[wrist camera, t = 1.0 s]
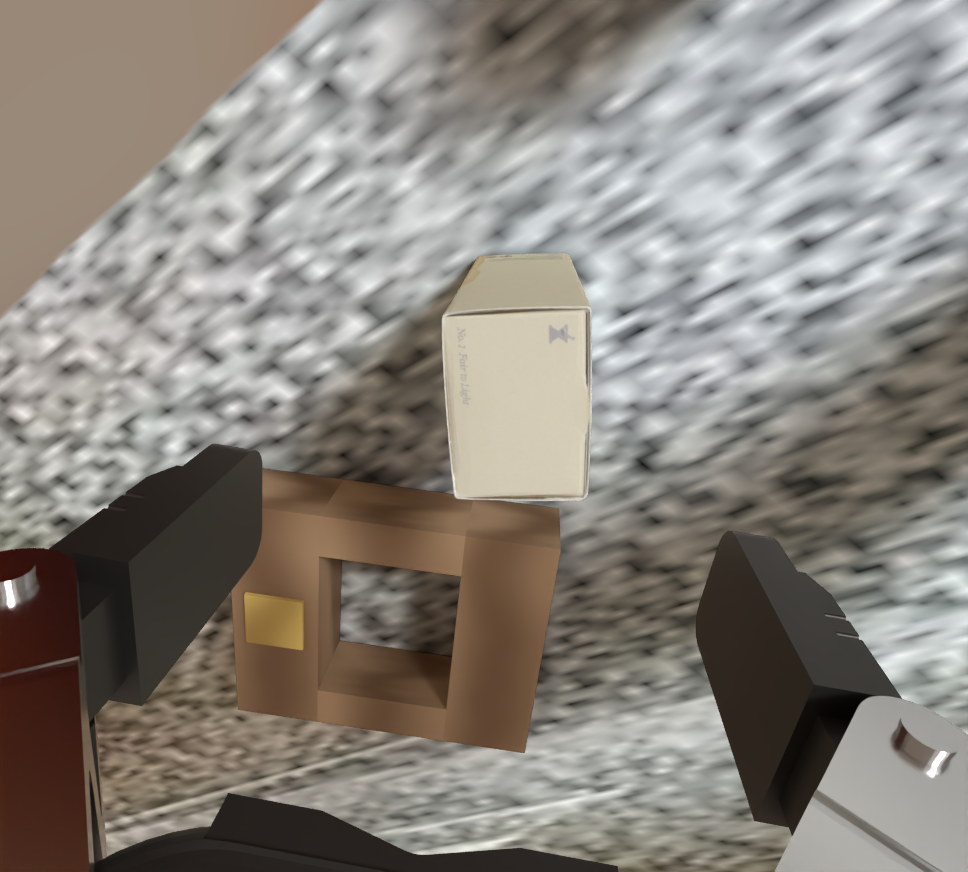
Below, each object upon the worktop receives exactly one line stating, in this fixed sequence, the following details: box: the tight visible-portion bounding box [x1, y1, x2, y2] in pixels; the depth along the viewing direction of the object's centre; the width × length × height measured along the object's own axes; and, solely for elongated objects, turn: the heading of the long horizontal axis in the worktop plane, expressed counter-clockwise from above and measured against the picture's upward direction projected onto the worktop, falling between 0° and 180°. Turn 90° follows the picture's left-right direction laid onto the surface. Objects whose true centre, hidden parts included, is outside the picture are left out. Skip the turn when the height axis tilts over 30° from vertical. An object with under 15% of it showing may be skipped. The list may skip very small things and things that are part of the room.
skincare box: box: [442, 253, 592, 501], centre depth 24 cm, size 6×4×12 cm
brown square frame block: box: [231, 468, 561, 753], centre depth 34 cm, size 16×13×4 cm
